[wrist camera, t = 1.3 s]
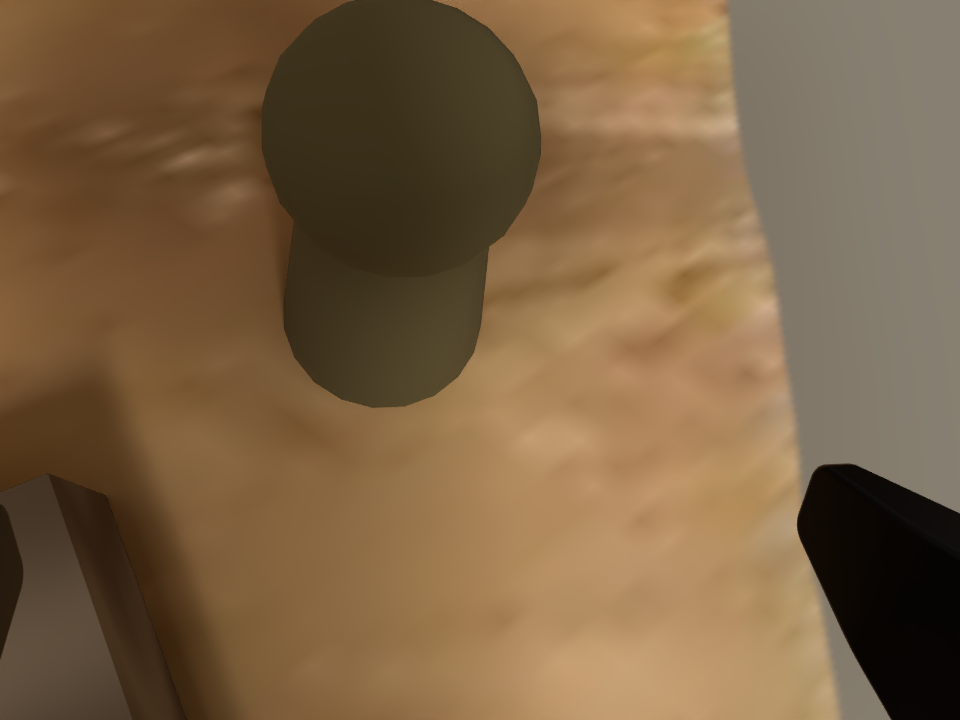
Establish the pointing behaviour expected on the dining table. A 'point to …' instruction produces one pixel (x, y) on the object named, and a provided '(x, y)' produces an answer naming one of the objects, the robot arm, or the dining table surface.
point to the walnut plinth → (78, 615)
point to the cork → (395, 190)
